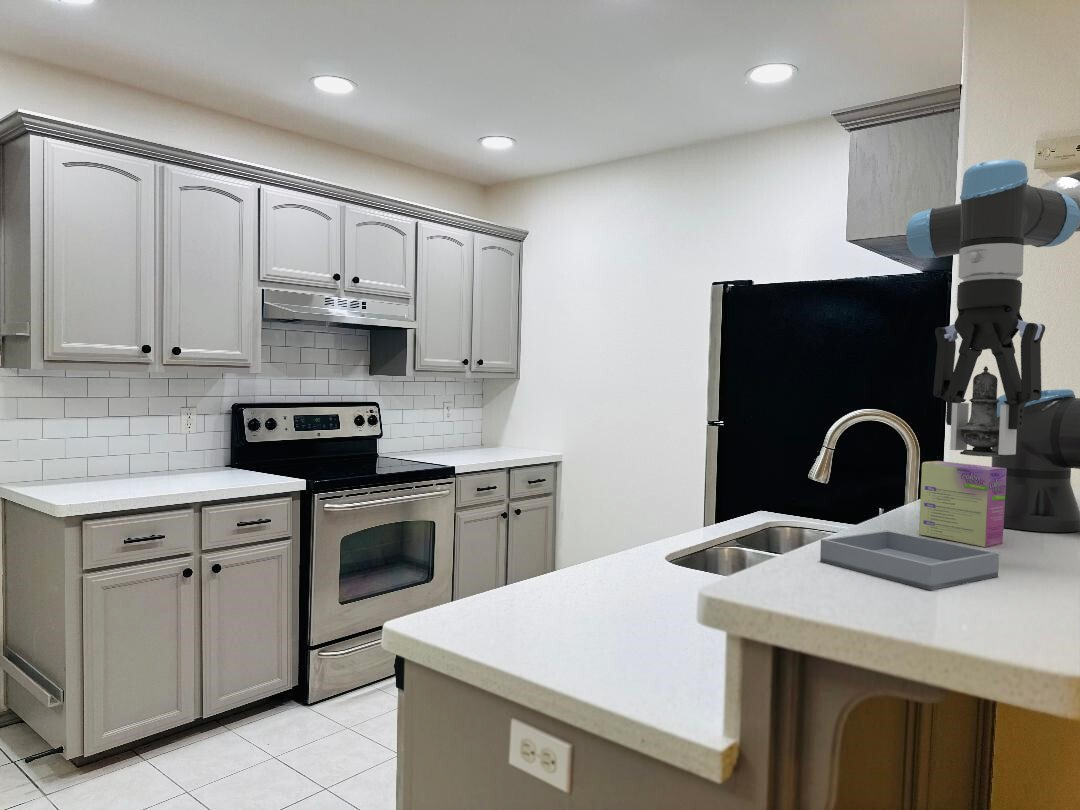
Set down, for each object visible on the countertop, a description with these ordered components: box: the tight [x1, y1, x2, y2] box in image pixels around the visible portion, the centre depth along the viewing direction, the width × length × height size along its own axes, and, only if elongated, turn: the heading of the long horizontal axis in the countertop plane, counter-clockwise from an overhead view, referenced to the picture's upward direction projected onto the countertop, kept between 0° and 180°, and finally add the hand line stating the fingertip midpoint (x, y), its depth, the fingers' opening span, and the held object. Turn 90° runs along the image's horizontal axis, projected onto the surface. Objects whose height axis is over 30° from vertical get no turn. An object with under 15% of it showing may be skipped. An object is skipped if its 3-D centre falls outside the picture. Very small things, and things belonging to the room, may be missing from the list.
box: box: [918, 460, 1007, 548], centre depth 121 cm, size 10×6×12 cm, turn 34°
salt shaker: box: [959, 365, 1005, 458], centre depth 105 cm, size 6×6×12 cm
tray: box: [819, 530, 1000, 591], centre depth 102 cm, size 14×16×3 cm
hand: (982, 451), depth 105 cm, fingers closed on salt shaker, 6 cm apart
